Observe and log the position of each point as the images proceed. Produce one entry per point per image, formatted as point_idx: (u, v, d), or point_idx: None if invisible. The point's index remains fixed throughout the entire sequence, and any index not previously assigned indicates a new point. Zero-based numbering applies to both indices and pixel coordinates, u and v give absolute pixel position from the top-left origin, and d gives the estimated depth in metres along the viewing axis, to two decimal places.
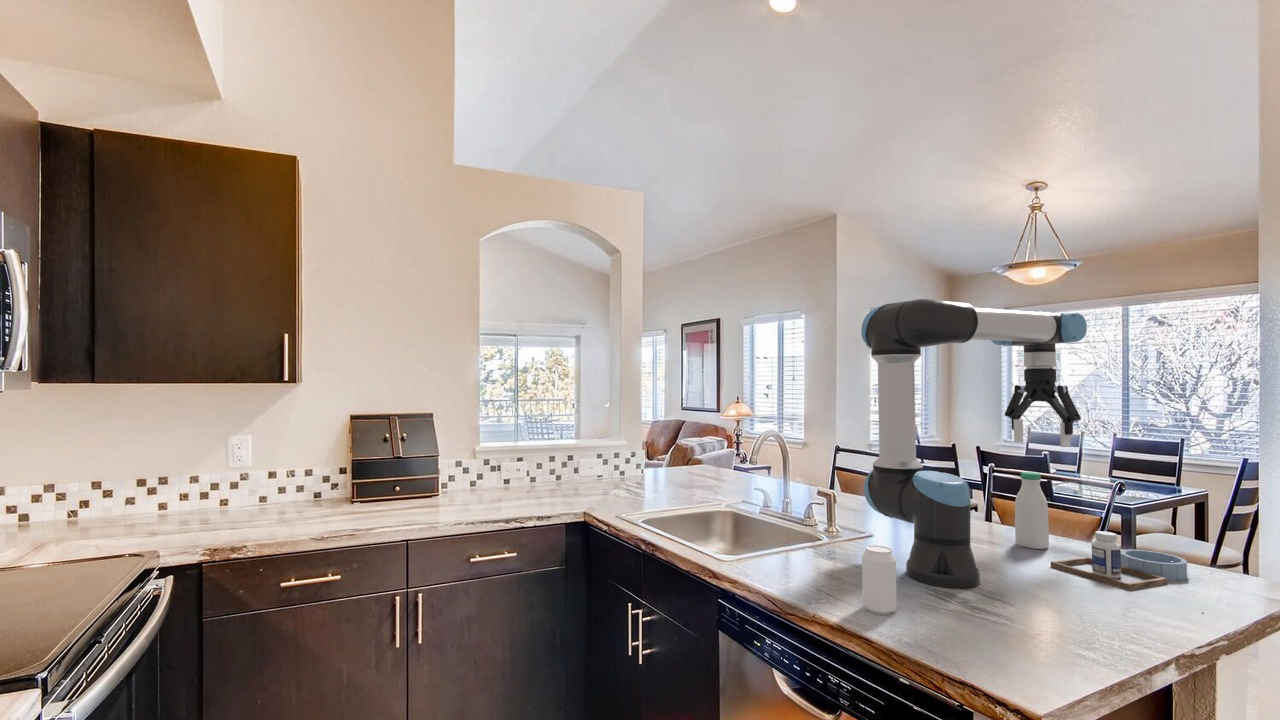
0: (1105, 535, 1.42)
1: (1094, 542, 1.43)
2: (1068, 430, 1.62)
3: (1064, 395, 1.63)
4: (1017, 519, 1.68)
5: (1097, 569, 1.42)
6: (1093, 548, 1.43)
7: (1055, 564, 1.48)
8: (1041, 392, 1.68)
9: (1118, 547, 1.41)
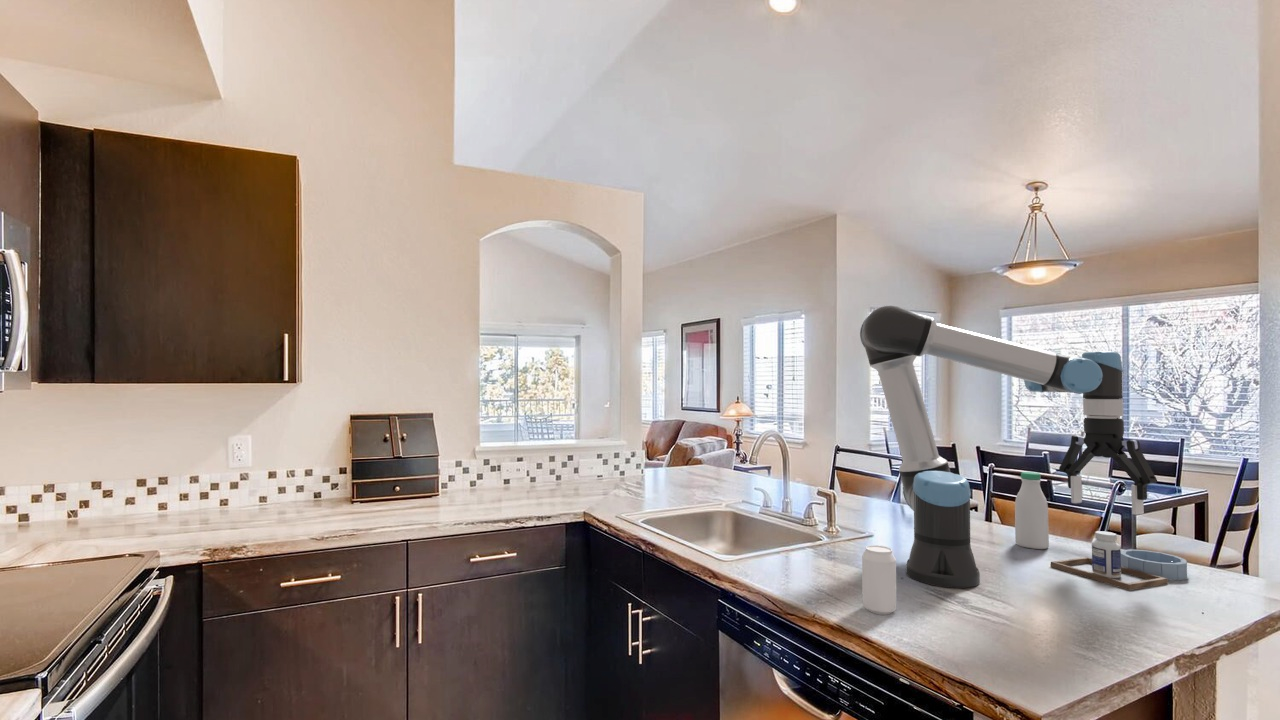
0: (1105, 535, 1.42)
1: (1094, 542, 1.43)
2: (1141, 494, 1.36)
3: (1136, 452, 1.37)
4: (1017, 519, 1.68)
5: (1097, 569, 1.42)
6: (1093, 548, 1.43)
7: (1055, 564, 1.48)
8: (1106, 447, 1.41)
9: (1118, 547, 1.41)
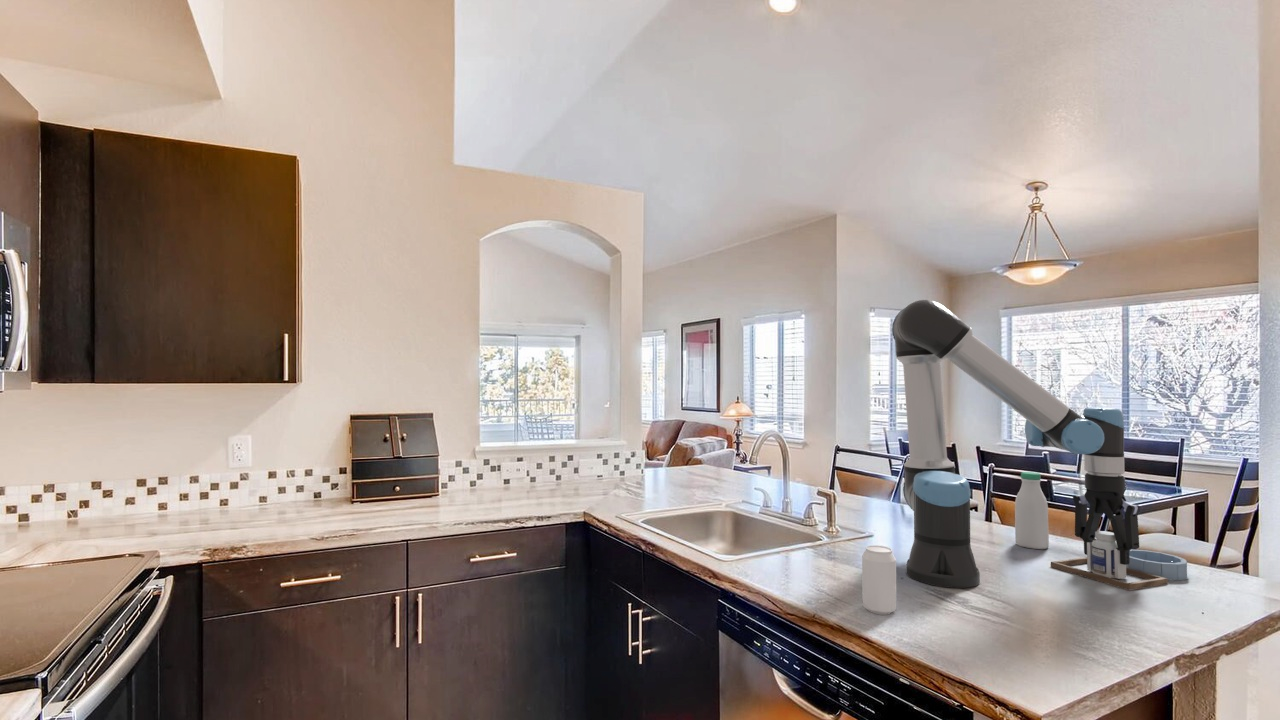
0: (1105, 535, 1.42)
1: (1094, 542, 1.43)
2: (1124, 559, 1.39)
3: (1132, 518, 1.37)
4: (1017, 519, 1.68)
5: (1097, 569, 1.42)
6: (1093, 548, 1.43)
7: (1055, 564, 1.48)
8: (1106, 505, 1.41)
9: None
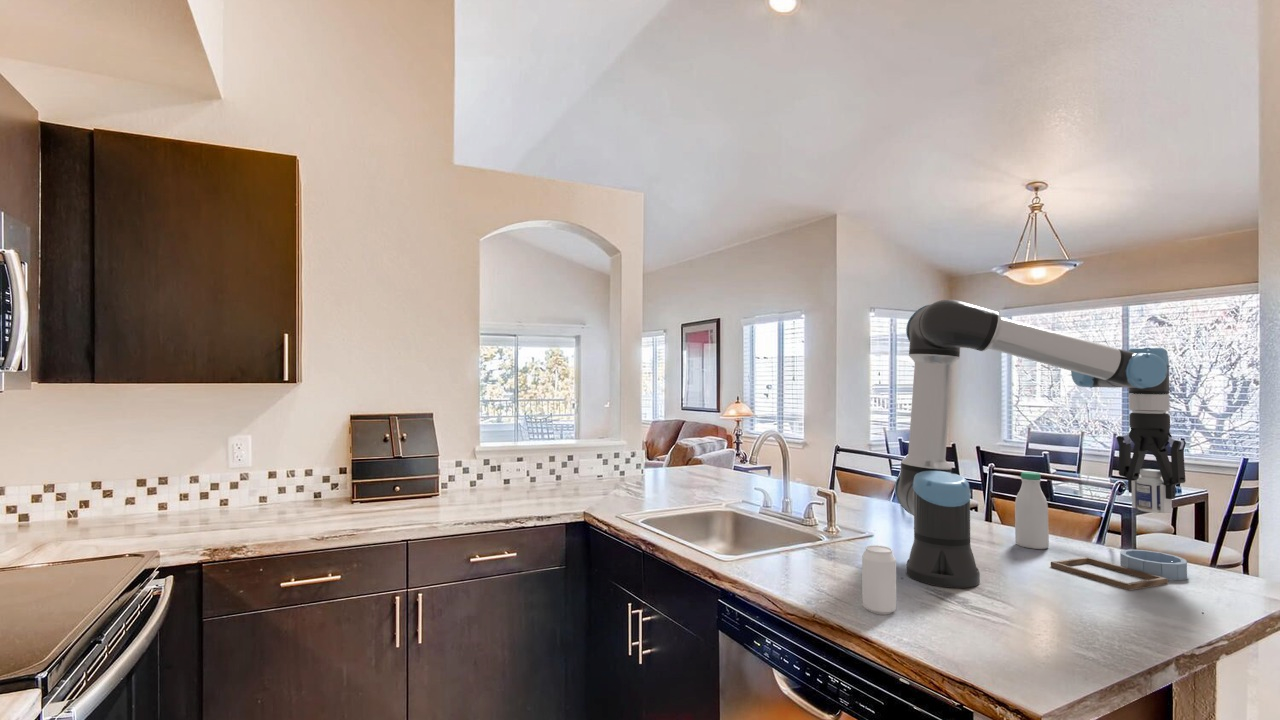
0: (1150, 471, 1.44)
1: (1139, 479, 1.46)
2: (1170, 494, 1.41)
3: (1178, 453, 1.40)
4: (1017, 519, 1.68)
5: (1142, 505, 1.45)
6: (1138, 485, 1.46)
7: (1055, 564, 1.48)
8: (1152, 442, 1.44)
9: None
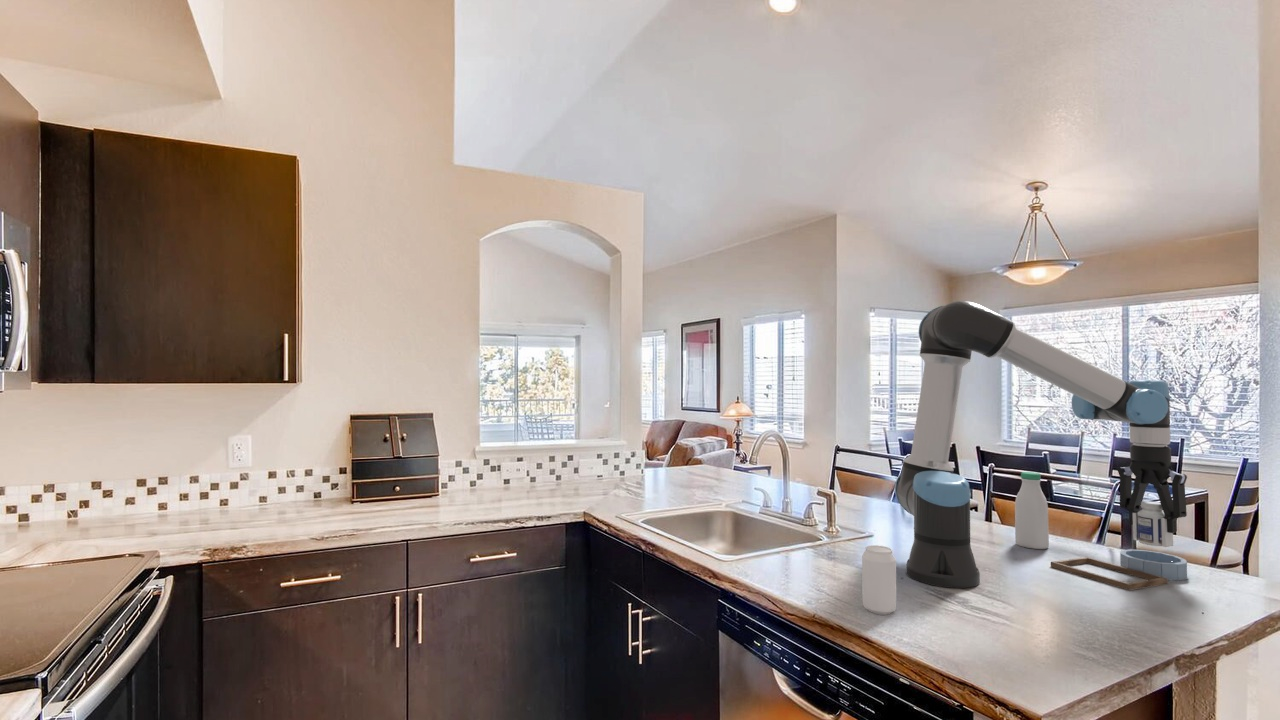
0: (1152, 504, 1.44)
1: (1140, 512, 1.46)
2: (1171, 528, 1.41)
3: (1179, 487, 1.40)
4: (1017, 519, 1.68)
5: (1143, 538, 1.45)
6: (1139, 517, 1.46)
7: (1055, 564, 1.48)
8: (1152, 475, 1.44)
9: None
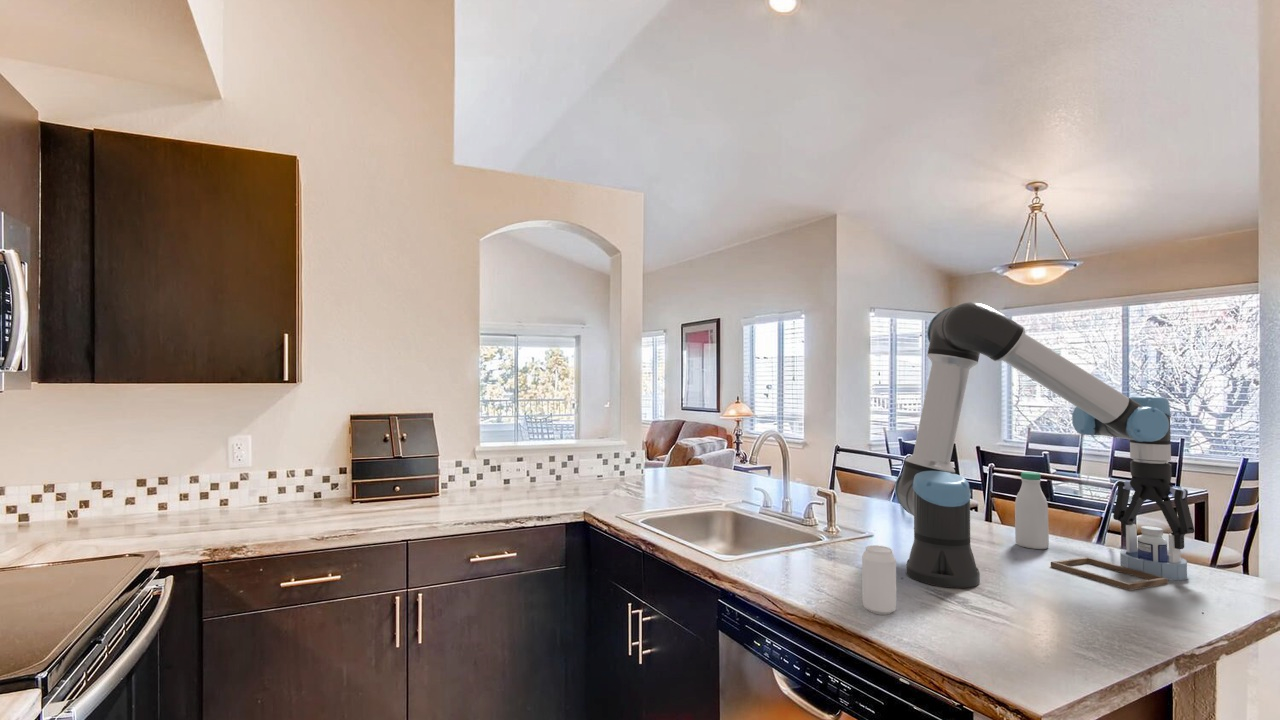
0: (1152, 530, 1.44)
1: (1140, 537, 1.46)
2: (1179, 544, 1.40)
3: (1182, 502, 1.39)
4: (1017, 519, 1.68)
5: None
6: (1139, 543, 1.46)
7: (1055, 564, 1.48)
8: (1153, 491, 1.44)
9: (1165, 542, 1.43)
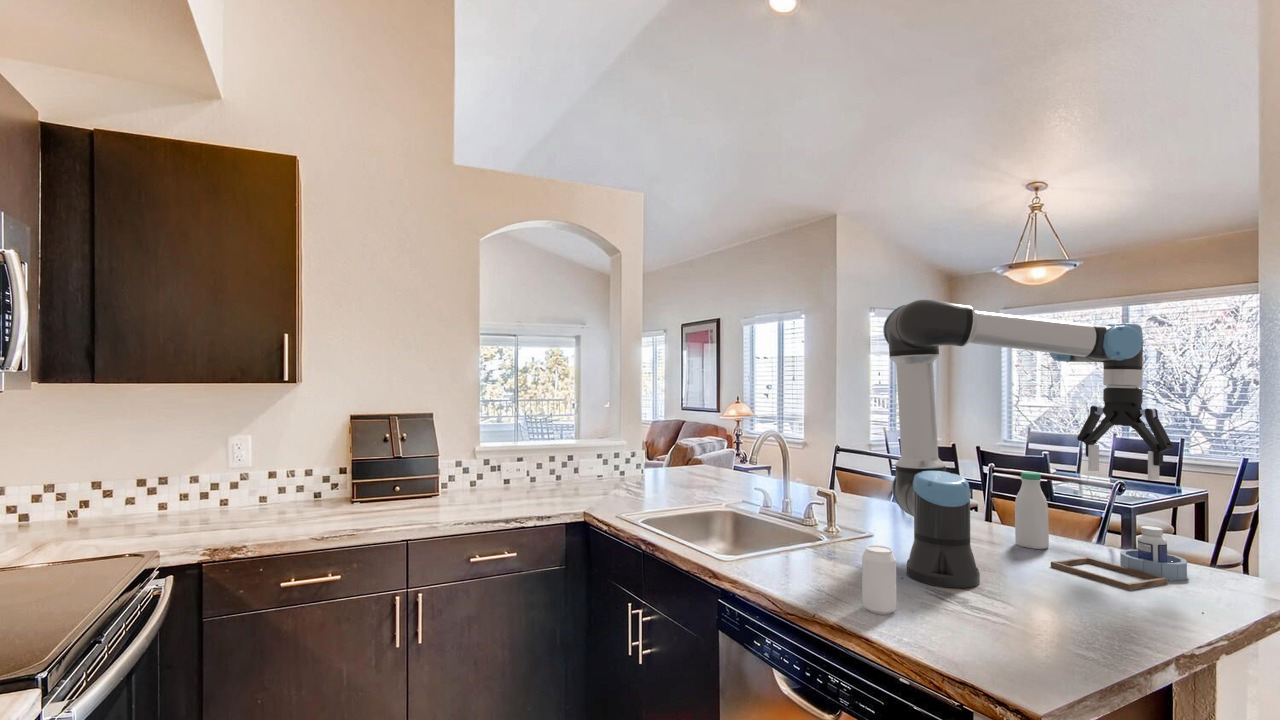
0: (1151, 530, 1.44)
1: (1140, 537, 1.46)
2: (1158, 460, 1.41)
3: (1153, 420, 1.42)
4: (1017, 519, 1.68)
5: None
6: (1139, 543, 1.46)
7: (1055, 564, 1.48)
8: (1124, 415, 1.47)
9: (1165, 542, 1.43)
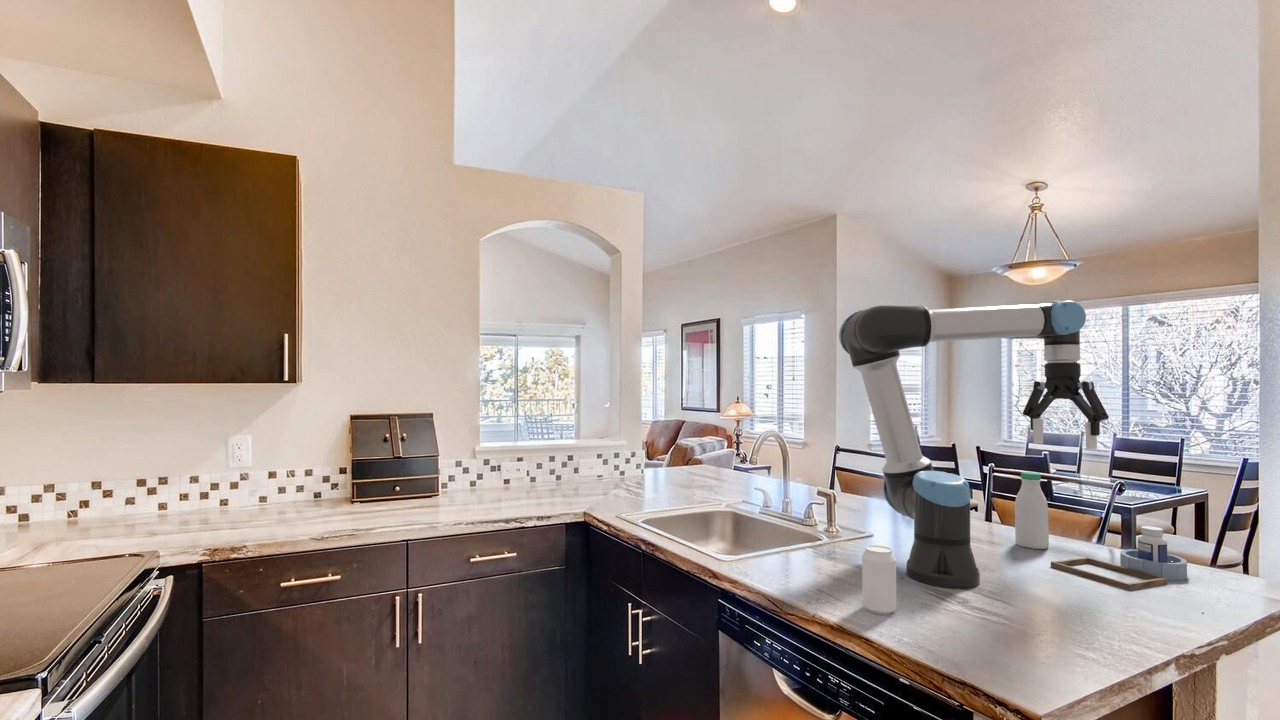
0: (1152, 530, 1.44)
1: (1140, 537, 1.46)
2: (1094, 430, 1.47)
3: (1090, 392, 1.48)
4: (1017, 519, 1.68)
5: None
6: (1139, 543, 1.46)
7: (1055, 564, 1.48)
8: (1064, 389, 1.53)
9: (1165, 542, 1.43)
